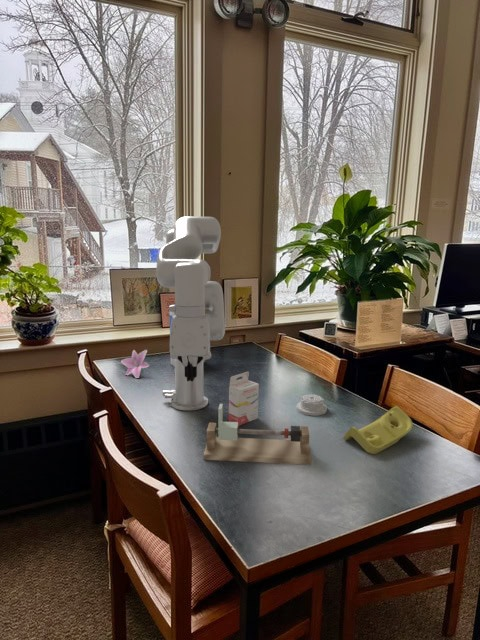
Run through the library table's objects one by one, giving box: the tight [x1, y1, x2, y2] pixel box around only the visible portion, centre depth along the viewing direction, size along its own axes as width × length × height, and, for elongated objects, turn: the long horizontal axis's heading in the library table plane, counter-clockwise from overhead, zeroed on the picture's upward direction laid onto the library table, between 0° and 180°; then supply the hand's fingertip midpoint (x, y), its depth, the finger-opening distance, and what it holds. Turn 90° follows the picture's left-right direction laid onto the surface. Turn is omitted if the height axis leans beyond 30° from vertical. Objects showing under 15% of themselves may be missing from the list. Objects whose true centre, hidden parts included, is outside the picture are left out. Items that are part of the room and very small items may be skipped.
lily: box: [120, 349, 150, 379], centre depth 186 cm, size 12×12×10 cm
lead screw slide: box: [203, 422, 312, 465], centre depth 126 cm, size 28×10×8 cm, turn 86°
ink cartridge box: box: [228, 371, 260, 427], centre depth 145 cm, size 9×5×15 cm, turn 134°
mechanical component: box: [296, 393, 328, 417], centre depth 154 cm, size 10×4×10 cm
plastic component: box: [342, 405, 414, 455], centre depth 135 cm, size 20×7×10 cm
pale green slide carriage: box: [217, 403, 239, 441], centre depth 125 cm, size 5×4×9 cm
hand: (190, 379), depth 123 cm, fingers closed
